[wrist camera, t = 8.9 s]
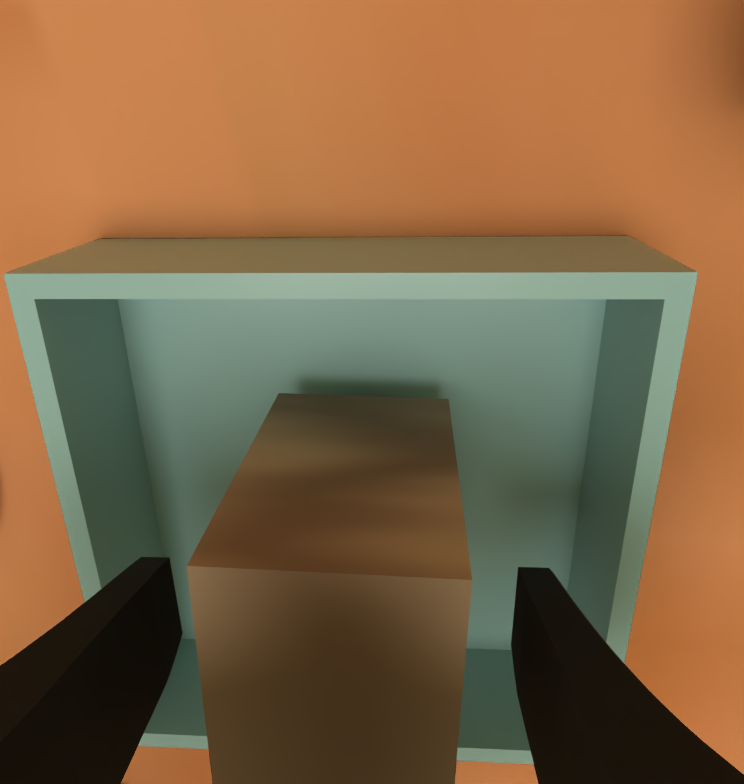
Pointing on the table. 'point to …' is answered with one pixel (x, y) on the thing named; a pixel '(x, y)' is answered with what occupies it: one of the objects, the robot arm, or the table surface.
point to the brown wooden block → (336, 598)
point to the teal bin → (365, 378)
